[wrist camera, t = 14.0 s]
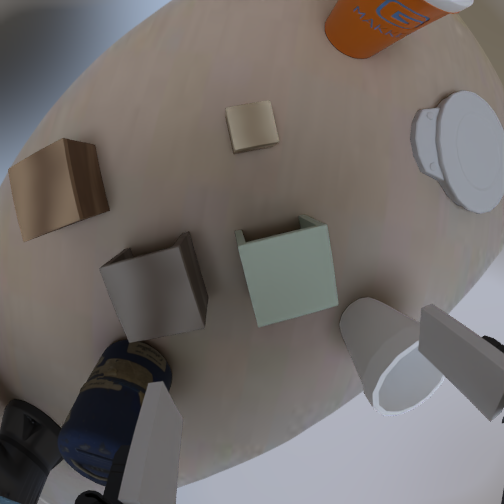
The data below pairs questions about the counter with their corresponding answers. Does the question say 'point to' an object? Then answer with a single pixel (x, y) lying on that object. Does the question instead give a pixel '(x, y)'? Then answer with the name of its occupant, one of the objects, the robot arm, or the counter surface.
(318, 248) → the cover green
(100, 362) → the canister
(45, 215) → the cover walnut
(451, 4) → the shaker bottle
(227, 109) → the maple cube
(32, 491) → the robot arm
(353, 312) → the foam cup
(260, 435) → the counter surface
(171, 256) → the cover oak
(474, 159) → the lid
